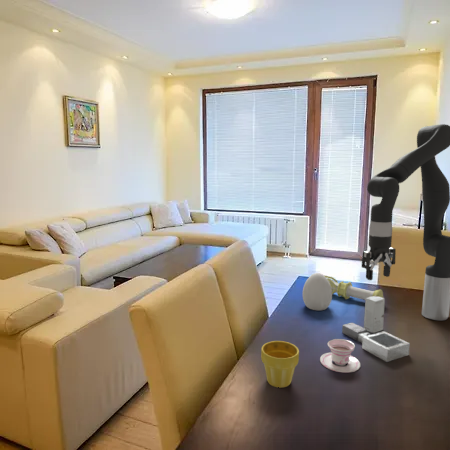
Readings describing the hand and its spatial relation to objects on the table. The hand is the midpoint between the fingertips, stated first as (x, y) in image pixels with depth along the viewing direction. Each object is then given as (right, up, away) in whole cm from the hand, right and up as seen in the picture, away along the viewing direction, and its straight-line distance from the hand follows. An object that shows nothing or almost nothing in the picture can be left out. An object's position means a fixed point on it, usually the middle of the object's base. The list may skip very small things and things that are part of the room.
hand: (377, 277), depth 139 cm
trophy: (+1, -15, +36) cm, 39 cm away
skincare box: (0, -20, +4) cm, 20 cm away
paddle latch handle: (-6, -21, -8) cm, 23 cm away
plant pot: (-40, -25, -30) cm, 56 cm away
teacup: (-20, -24, -20) cm, 37 cm away
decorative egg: (-16, -16, +26) cm, 34 cm away
